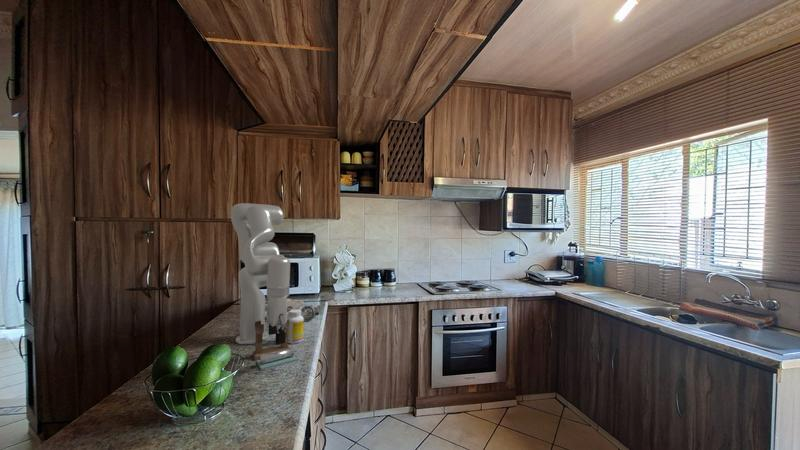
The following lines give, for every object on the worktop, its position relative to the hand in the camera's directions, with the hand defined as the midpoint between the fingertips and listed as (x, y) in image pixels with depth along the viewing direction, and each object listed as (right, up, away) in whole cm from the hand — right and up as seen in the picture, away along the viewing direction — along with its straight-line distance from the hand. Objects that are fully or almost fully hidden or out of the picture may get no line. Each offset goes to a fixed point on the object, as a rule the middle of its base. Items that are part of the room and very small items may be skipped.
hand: (276, 338), depth 103 cm
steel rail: (0, -7, -1) cm, 7 cm away
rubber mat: (+1, -8, -1) cm, 8 cm away
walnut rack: (-4, -8, +5) cm, 11 cm away
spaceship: (-3, -9, +44) cm, 45 cm away
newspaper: (-24, -9, +62) cm, 67 cm away
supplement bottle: (0, -8, +18) cm, 20 cm away
